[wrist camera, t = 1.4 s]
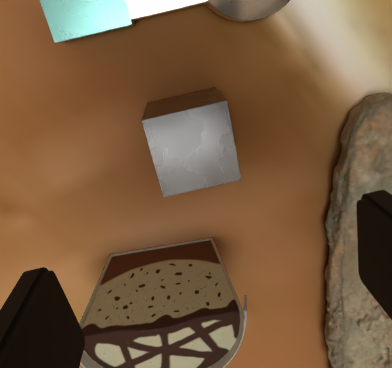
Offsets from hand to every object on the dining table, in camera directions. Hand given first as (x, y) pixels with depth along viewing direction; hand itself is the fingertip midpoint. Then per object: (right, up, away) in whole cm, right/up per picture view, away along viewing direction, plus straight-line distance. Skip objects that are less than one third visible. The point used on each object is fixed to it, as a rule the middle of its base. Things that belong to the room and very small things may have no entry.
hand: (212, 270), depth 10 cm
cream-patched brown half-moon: (-3, -6, +22) cm, 23 cm away
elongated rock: (+16, -6, +24) cm, 29 cm away
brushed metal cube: (-1, +7, +16) cm, 18 cm away
